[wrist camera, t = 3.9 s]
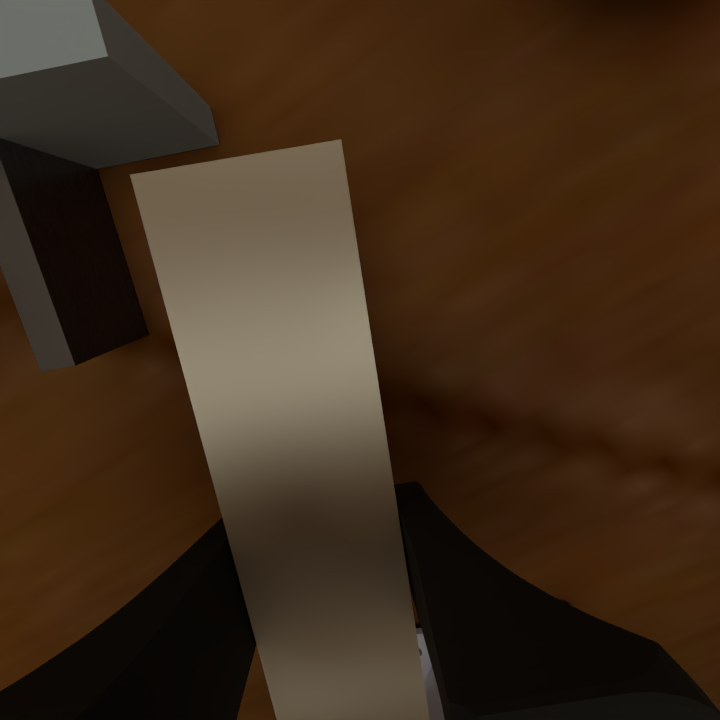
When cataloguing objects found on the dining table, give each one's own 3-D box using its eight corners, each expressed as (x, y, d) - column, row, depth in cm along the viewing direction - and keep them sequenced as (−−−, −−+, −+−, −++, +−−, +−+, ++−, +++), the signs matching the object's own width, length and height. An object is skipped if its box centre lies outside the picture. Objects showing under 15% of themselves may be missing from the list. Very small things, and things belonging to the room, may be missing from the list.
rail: (412, 619, 14) (434, 753, 11) (307, 634, 15) (291, 773, 11) (344, 179, 11) (341, 139, 7) (207, 201, 11) (130, 174, 7)
